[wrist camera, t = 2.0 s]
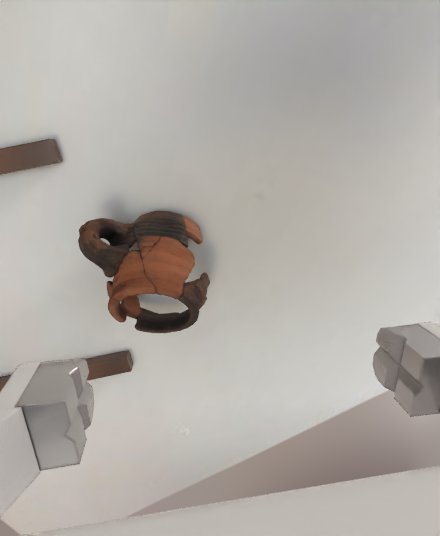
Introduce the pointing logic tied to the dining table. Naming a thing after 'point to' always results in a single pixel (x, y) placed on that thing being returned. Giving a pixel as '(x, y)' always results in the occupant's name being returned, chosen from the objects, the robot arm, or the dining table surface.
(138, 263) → the broken brown mug
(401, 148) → the dining table surface
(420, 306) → the dining table surface
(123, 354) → the frame
